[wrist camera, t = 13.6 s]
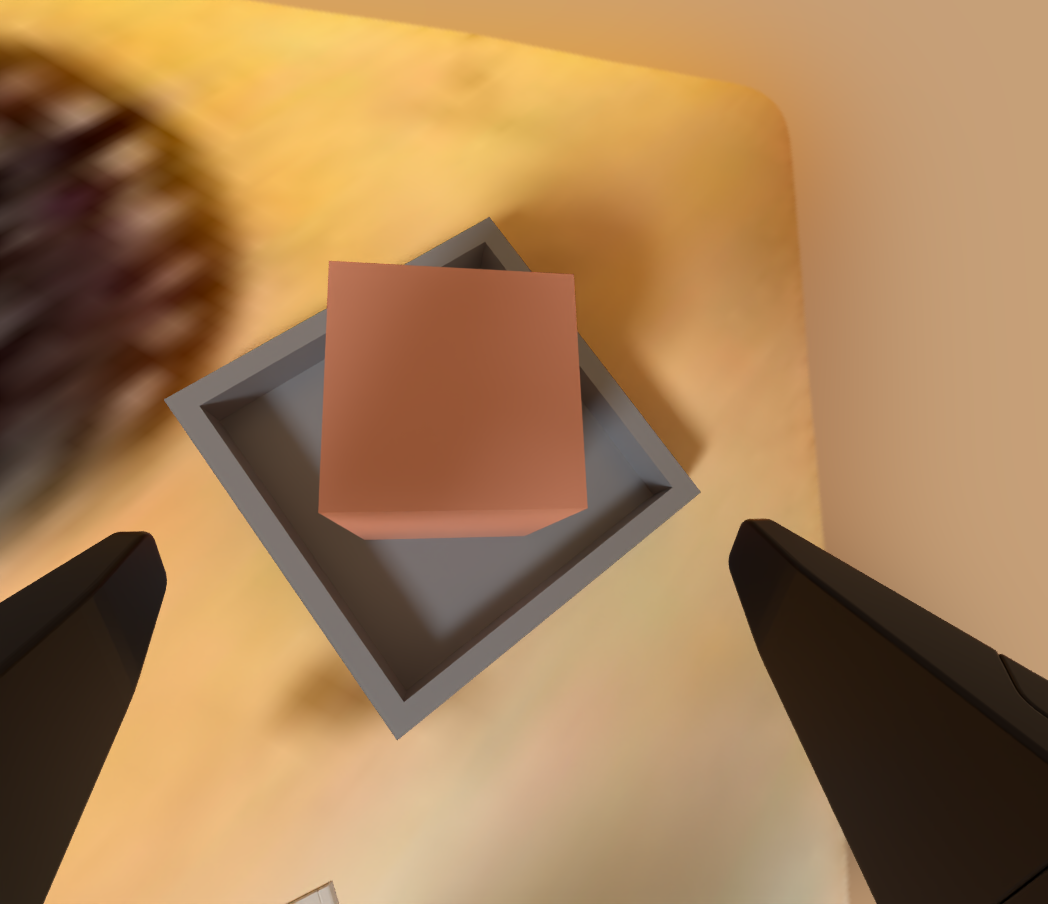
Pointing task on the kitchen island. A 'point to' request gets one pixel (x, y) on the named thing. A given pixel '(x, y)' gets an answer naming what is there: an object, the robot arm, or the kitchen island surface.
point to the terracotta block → (450, 402)
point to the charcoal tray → (432, 563)
